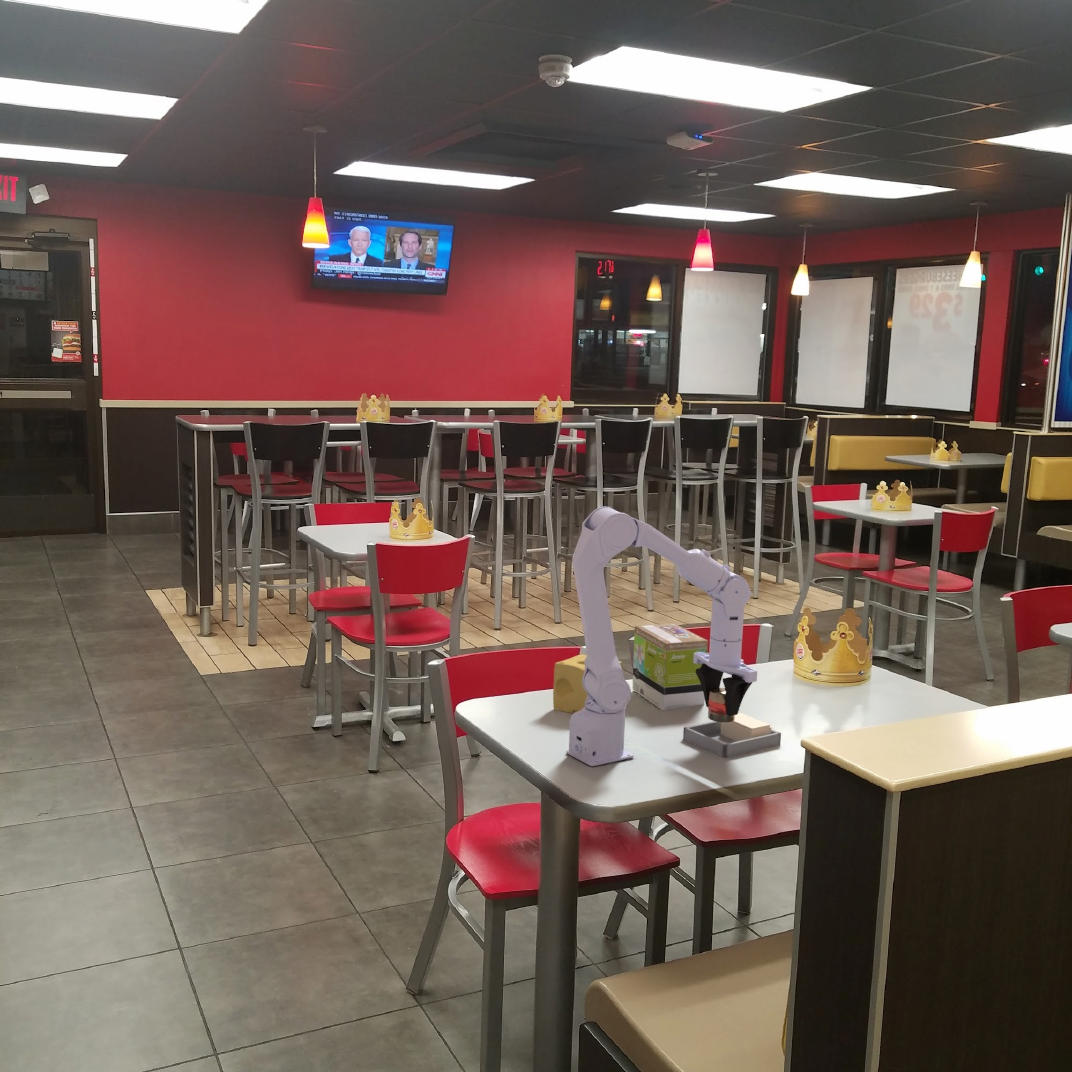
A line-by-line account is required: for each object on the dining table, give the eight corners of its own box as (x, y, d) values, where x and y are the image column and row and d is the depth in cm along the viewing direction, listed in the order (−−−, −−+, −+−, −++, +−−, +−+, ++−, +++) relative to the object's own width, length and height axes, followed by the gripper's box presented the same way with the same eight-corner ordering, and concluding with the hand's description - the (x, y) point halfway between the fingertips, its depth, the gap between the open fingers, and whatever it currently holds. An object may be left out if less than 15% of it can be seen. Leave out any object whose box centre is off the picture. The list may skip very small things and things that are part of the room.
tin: (720, 724, 188) (722, 697, 187) (702, 716, 192) (703, 689, 191) (740, 719, 190) (742, 693, 190) (721, 712, 194) (723, 686, 194)
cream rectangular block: (750, 747, 191) (752, 729, 190) (720, 734, 197) (721, 716, 197) (770, 743, 193) (771, 724, 193) (739, 730, 200) (740, 712, 200)
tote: (724, 761, 185) (725, 745, 185) (682, 742, 194) (683, 727, 194) (780, 748, 193) (781, 733, 192) (737, 731, 202) (738, 716, 201)
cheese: (593, 721, 205) (595, 671, 204) (549, 709, 212) (551, 661, 210) (622, 708, 214) (624, 661, 212) (578, 697, 220) (580, 651, 218)
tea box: (630, 691, 226) (633, 624, 224) (671, 687, 229) (675, 621, 227) (662, 712, 212) (666, 641, 210) (706, 708, 215) (710, 638, 213)
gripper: (771, 644, 185) (766, 718, 187) (714, 627, 197) (710, 696, 199) (742, 649, 181) (737, 724, 183) (686, 631, 193) (682, 702, 195)
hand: (721, 710), depth 191 cm, fingers closed on tin, 5 cm apart
